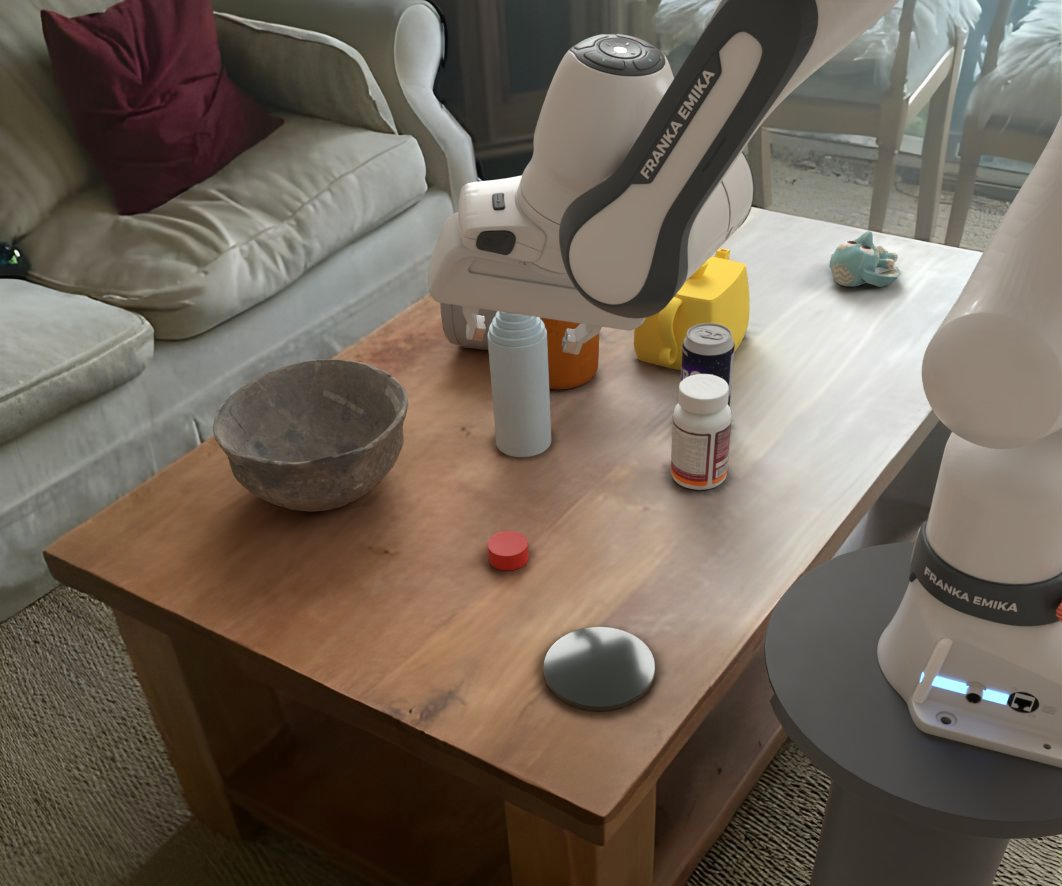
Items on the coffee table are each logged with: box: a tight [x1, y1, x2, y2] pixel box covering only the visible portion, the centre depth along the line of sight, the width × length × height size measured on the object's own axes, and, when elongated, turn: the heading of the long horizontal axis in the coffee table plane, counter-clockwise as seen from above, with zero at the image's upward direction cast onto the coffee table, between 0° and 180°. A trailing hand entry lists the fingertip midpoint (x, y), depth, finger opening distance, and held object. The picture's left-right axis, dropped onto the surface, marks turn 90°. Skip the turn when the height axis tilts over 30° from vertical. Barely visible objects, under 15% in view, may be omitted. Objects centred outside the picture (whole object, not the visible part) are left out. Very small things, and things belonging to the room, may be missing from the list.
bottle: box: [487, 311, 552, 458], centre depth 121 cm, size 6×6×20 cm
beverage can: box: [680, 323, 735, 408], centre depth 124 cm, size 6×6×12 cm
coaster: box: [543, 626, 656, 712], centre depth 98 cm, size 10×10×1 cm
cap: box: [487, 530, 530, 571], centre depth 110 cm, size 4×4×2 cm
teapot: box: [633, 247, 751, 372], centre depth 139 cm, size 20×12×12 cm, turn 150°
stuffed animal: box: [828, 230, 901, 288], centre depth 152 cm, size 11×7×12 cm
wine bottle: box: [540, 318, 600, 390], centre depth 128 cm, size 10×10×30 cm
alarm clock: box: [439, 303, 497, 351], centre depth 143 cm, size 21×10×13 cm, turn 164°
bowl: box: [212, 358, 409, 512], centre depth 119 cm, size 21×21×10 cm
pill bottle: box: [670, 374, 733, 491], centre depth 117 cm, size 6×6×11 cm
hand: (522, 342), depth 104 cm, fingers open, 8 cm apart
